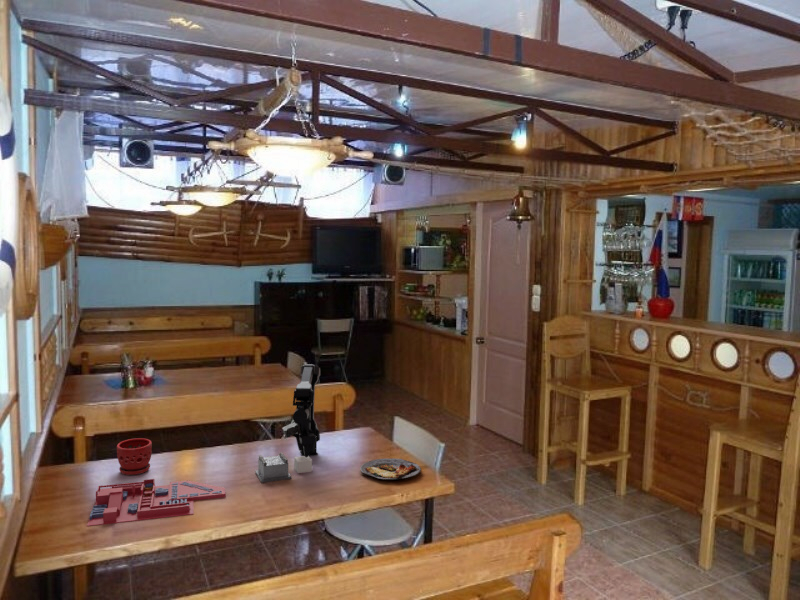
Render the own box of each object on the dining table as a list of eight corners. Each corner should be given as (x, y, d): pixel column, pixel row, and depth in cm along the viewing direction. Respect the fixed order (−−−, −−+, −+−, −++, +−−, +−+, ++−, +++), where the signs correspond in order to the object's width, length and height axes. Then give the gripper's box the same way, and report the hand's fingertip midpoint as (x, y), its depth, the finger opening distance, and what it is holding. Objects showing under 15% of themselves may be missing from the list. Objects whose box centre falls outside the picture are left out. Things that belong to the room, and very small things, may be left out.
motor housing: (282, 467, 259) (283, 449, 258) (291, 478, 246) (291, 460, 246) (254, 471, 254) (254, 453, 253) (261, 482, 241) (261, 464, 241)
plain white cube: (308, 466, 260) (308, 455, 260) (312, 471, 255) (312, 459, 254) (294, 468, 258) (294, 457, 257) (297, 473, 252) (297, 461, 252)
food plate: (431, 472, 255) (431, 464, 255) (393, 488, 238) (393, 479, 238) (388, 459, 272) (388, 452, 272) (349, 473, 256) (349, 465, 255)
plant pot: (112, 470, 251) (112, 442, 250) (145, 463, 260) (145, 436, 259) (123, 480, 241) (122, 450, 240) (156, 472, 250) (156, 443, 249)
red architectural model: (229, 511, 216) (229, 495, 215) (86, 529, 200) (86, 512, 200) (221, 480, 244) (221, 466, 244) (96, 494, 228) (96, 479, 228)
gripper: (278, 413, 260) (278, 449, 261) (290, 425, 243) (289, 463, 244) (304, 410, 264) (304, 446, 266) (317, 422, 247) (316, 459, 249)
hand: (303, 453), depth 256 cm, fingers open, 9 cm apart
